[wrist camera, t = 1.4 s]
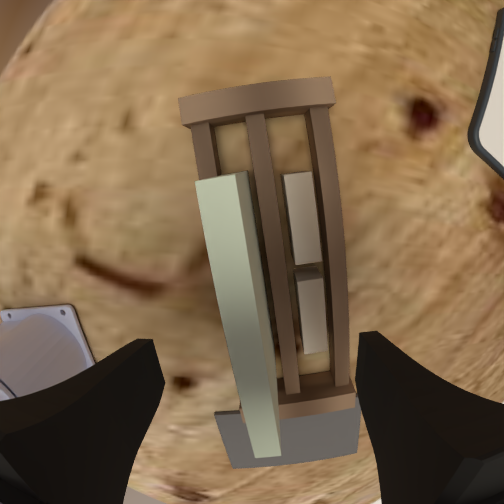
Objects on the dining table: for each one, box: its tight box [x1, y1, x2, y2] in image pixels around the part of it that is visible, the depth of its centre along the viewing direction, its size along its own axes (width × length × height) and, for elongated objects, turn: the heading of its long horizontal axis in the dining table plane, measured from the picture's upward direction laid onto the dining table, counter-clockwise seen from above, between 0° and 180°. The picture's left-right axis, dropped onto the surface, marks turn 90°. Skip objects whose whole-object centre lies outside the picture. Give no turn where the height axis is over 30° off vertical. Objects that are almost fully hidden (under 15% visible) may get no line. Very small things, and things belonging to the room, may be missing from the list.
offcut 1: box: [280, 171, 322, 265], centre depth 18 cm, size 2×5×2 cm, turn 8°
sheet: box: [195, 171, 281, 458], centre depth 15 cm, size 1×12×10 cm, turn 8°
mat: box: [214, 394, 361, 469], centre depth 24 cm, size 12×8×1 cm, turn 99°
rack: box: [178, 77, 356, 423], centre depth 19 cm, size 8×21×3 cm, turn 9°
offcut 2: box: [293, 266, 328, 354], centre depth 20 cm, size 2×5×2 cm, turn 9°
